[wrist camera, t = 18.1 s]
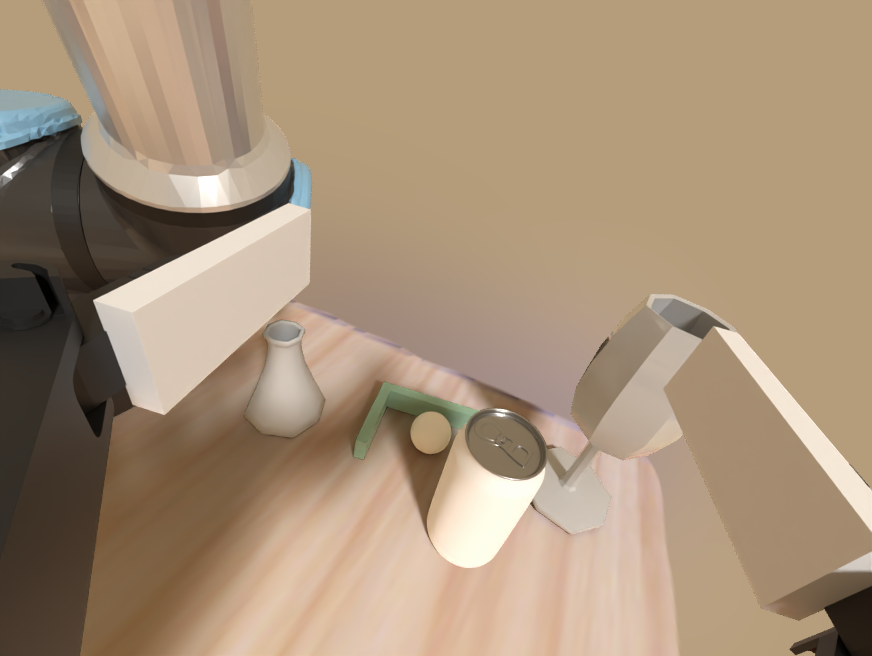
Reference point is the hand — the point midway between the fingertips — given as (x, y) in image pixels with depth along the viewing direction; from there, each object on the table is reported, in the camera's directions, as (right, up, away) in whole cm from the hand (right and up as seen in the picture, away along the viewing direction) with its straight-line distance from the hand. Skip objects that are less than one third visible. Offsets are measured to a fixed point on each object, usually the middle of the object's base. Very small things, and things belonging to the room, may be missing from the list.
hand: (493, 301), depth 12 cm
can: (0, -18, +19) cm, 26 cm away
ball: (-2, -11, +24) cm, 27 cm away
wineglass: (+11, -17, +24) cm, 32 cm away
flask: (-17, -9, +25) cm, 32 cm away
